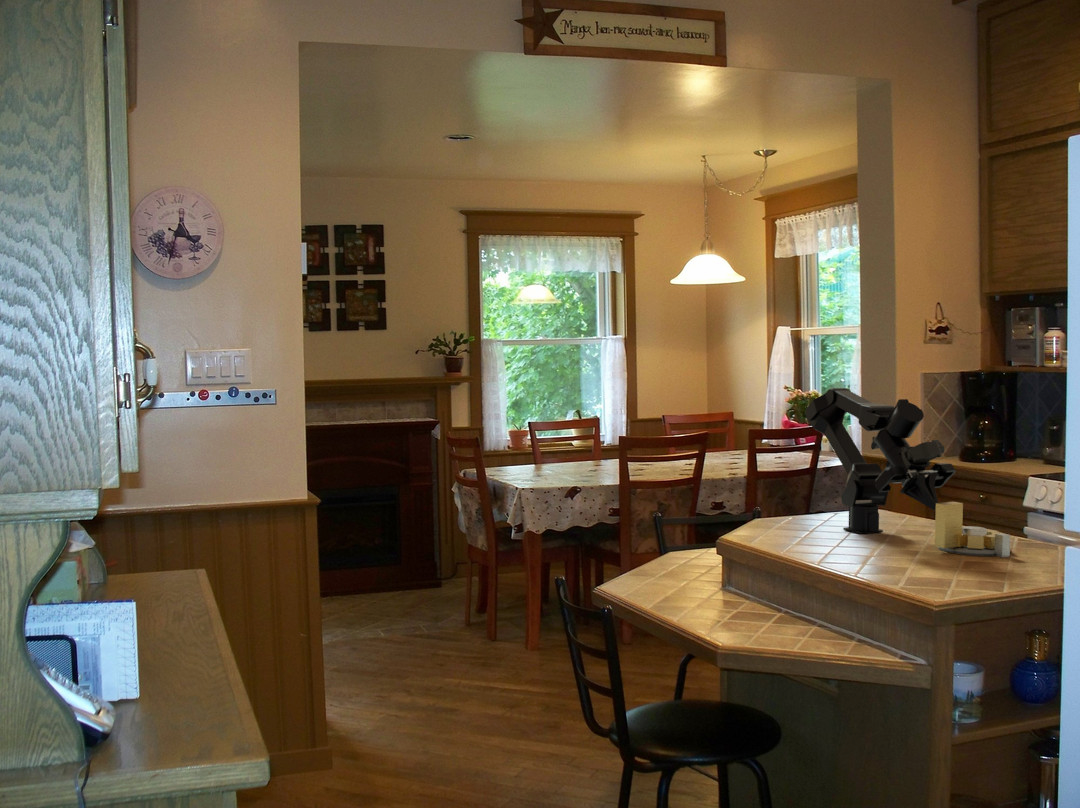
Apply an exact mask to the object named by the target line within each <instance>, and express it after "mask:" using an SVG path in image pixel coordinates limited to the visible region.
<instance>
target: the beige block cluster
mask: <svg viewBox="0 0 1080 808" xmlns="http://www.w3.org/2000/svg"><path fill="white" fill-rule="evenodd" d="M963 510H964V503H963V502H958V501H947V502H946V501H944V502H938V503H936V510H935V519H934V520H935V523H934V525H935V527H934V547H936V548H938V547H940V548H953V547H964V546H967V548H976V549H983V547H985V548H989V549H994V548H995V534H999V533H1002V532H1000V531H999V530H996V529H995V530H994V529H989V528H986V529H987V535H967V534H962V527H963V518H964V517H963V515H964V513H963V512H964V511H963Z"/></svg>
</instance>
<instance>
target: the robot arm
mask: <svg viewBox="0 0 1080 808" xmlns="http://www.w3.org/2000/svg"><path fill="white" fill-rule="evenodd" d="M847 413H848V414H850V415H852V416H853V417H855V418H856V419H857V420H858V424H859V425H860V427H861V428H863V430H865V431H866V432H877V434H876V436H872V438H871V439H872V440H871V444H870V445H871V446H870V449H871V450H876V449H879V450H880V451H881V453H882V454H883V456H884V458H885V459H886V460H887V461H886V462H885V464H884V465H885V466H886V467H885V468H884V469H883V470H882V468H881V465H879V464H878V463H867V461H866V459H865V458H864V456H863V454H862V453H861V452H860V450H859V448H858V446H857V445H856V444H855V442H854V439H852V436H851V435H850V434H849V432H848V431H847V429H846V427H845V425H844V419H845V415H846V414H847ZM805 418H806V420H807V422H808V423H809V424H810V426H811V427H812V429H813V430H815V431H817V432H819V433H821V434H823V435H824V436H825V438H826V439H827V441H828V442H829V445H830V446H831V448H832V450H833V451H834V453H835V454H836V456H837V458H838V460H839V461H840V463H841V465H842V467H843V468H844V471H845V472H846V473H847V479H846V487H845V489H844V490H843V491H842V493H841V495H840V497H841V503H842V505H844V506H847V507H848V526H847V527H843V529H842V530H843V531H848V532H851V533H857V534H860V535H861V534H862V535H867V534H877V533H876V532H878V533H884V530H883V529H880V512H879V506H881V507H882V506H883V507H885V506H886V504H887V499H888V495H889V492H890V491H891V489H892V488H891V486H890V484H901V486H902V488H901V489H900V491H899V493H900V494H903V495H905V496H907V497H909V498H912V499H913V500H915V501H917V502H919V503H921V504H922V505H924V506H926V507H928V508H929V509H931V510H933V511H936V503H939V500H938V495H937V493H936V492H937V491H936V489H939V488H941V487H943V486H944V485H945V484H946V483H947V482H948V481H949V480H950V479H951V478H952V477H953V476H954V475H955V473H956V472H957V471H956V469H955V467H954V466H953V464H952V463H949V462H942V463H941V462H940V463H935V464H933V466H931V468H930V469H929V470H928V469H927V470H926V468H928V467H929V466H930V465H931V462H930V461H932V460H934V459H936V458H940V457H942V454H945V453H944V452H945V447H944V446H945V445H943V444H942V442H941V441H940V440H939V439H932V440H931V441H925V442H921V443H918V444H916V445H914V446H911V445H910V444H909V442H908V441H907V438H911V436H912V435H913V434H914V433H915V431H916V430H917V428H918V427H919V426H920V423H921V422H922V421H923V419H924V411H923V410H922V409H921V408H920V407H918V406H917V405H916V404H913V403H911V402H909V400H908V399H907V398H900V399H898V400H897V402H896V405H895V406H894V405H890V404H886V403H875V402H871V401H870V400H868V399H866V398H865V397H863V396H860V395H859V394H856V393H854V392H853V391H851V390H850V389H849V388H846V387H831V388H830V389H827V391H826V392H824V393H823V394H822V395H819V396H818V397H816V398H813V400H812V401H810V403H809V404H808V405H807V407H806V409H805Z"/></svg>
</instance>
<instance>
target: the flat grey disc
mask: <svg viewBox="0 0 1080 808" xmlns="http://www.w3.org/2000/svg"><path fill="white" fill-rule="evenodd" d="M987 529H988V528H985V527H982V526H970V525H967V526H962V534H967V535H987ZM937 549H938V550H940V551H943V552H946V553H951V554H955V555H960V556H961V555H963V556H969V557H970V556H972V557H999V558H1003V559H1004V558H1009V557H1010V555H1011V534H1007V533H1003V532H1001V533H999V534H995V548H994V549H989V548H985V547H983V549H976V548H967V546H964V547H953V548H940V547H937Z"/></svg>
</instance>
